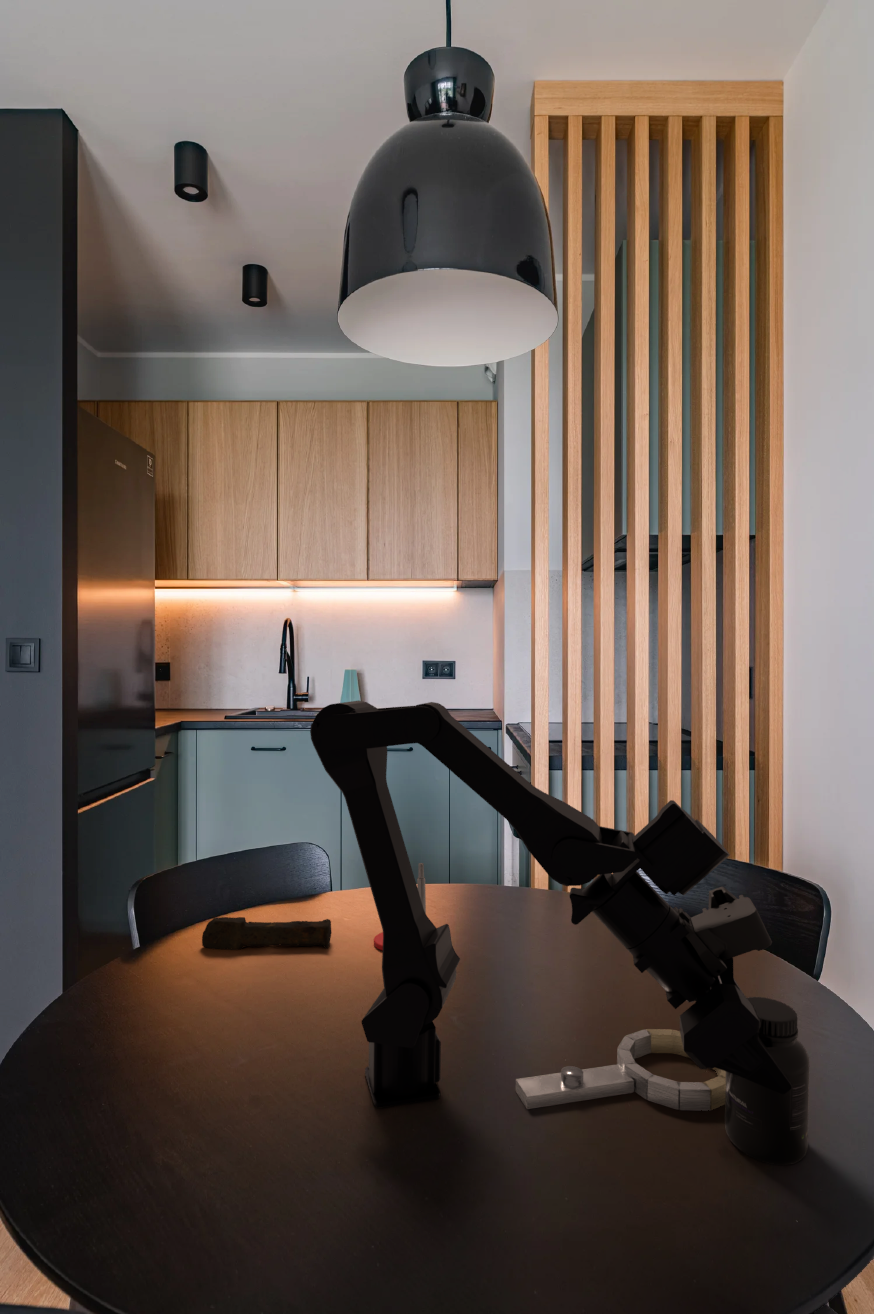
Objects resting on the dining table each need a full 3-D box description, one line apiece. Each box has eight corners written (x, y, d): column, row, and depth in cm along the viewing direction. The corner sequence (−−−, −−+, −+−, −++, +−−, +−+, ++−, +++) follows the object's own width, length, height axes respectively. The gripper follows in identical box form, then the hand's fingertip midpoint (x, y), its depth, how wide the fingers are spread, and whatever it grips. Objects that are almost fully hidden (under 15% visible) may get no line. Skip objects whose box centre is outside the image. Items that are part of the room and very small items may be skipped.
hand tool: (332, 941, 111) (332, 911, 111) (329, 951, 107) (330, 920, 107) (207, 943, 110) (207, 912, 110) (200, 953, 106) (200, 921, 106)
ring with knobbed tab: (708, 1111, 69) (708, 1090, 69) (643, 1047, 80) (643, 1029, 80) (821, 1092, 72) (821, 1072, 72) (743, 1033, 84) (743, 1016, 84)
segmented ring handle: (545, 1138, 65) (545, 1116, 65) (500, 1067, 76) (500, 1048, 76) (713, 1110, 69) (713, 1089, 69) (647, 1047, 80) (647, 1029, 80)
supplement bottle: (712, 1142, 64) (713, 1008, 65) (740, 1108, 69) (741, 983, 70) (794, 1181, 60) (795, 1035, 60) (818, 1141, 65) (819, 1007, 65)
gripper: (729, 902, 57) (885, 1061, 54) (699, 845, 75) (815, 962, 72) (625, 991, 59) (772, 1150, 56) (621, 914, 77) (731, 1031, 74)
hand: (775, 1061), depth 64 cm, fingers open, 9 cm apart
